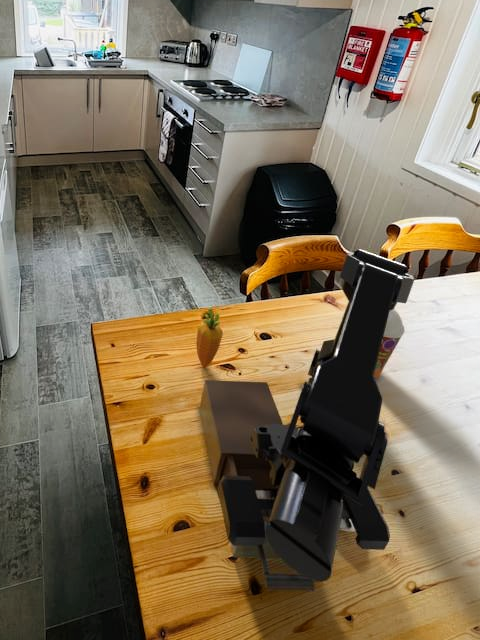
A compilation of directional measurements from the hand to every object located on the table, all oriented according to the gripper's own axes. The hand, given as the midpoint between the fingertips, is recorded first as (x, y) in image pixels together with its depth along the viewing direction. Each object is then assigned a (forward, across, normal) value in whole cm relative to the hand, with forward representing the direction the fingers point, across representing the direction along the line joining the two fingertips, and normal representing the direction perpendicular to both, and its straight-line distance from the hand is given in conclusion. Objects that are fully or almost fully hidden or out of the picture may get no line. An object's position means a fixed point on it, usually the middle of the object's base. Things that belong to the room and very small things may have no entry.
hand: (285, 547), depth 51 cm
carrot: (+8, +3, -33) cm, 34 cm away
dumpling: (+8, -12, -7) cm, 16 cm away
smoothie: (+8, -32, -34) cm, 48 cm away
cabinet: (+8, 0, -17) cm, 19 cm away
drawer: (+7, 0, -5) cm, 9 cm away
